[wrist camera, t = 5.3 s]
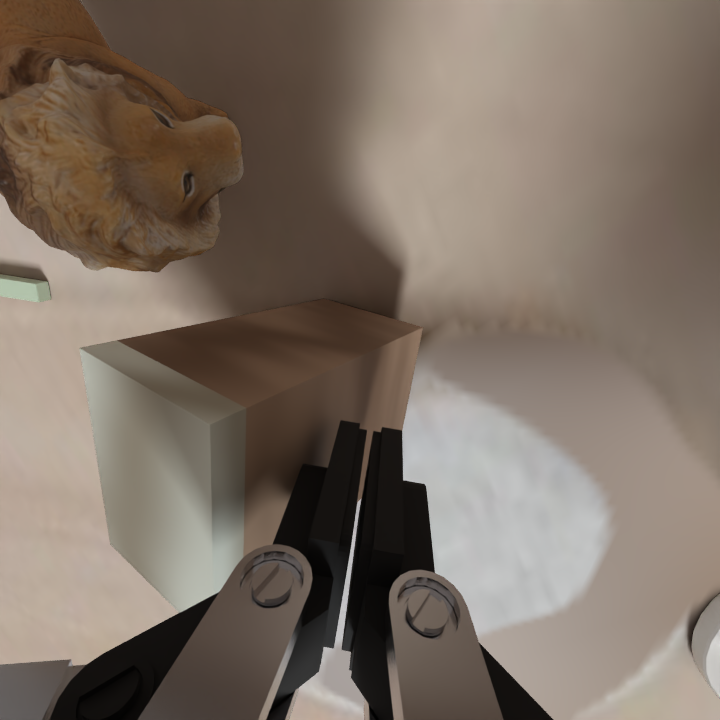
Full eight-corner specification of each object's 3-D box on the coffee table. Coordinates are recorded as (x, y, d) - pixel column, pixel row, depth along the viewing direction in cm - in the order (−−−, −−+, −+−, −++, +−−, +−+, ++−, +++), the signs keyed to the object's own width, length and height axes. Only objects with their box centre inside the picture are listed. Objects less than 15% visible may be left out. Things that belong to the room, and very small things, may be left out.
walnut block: (422, 327, 14) (210, 424, 7) (395, 463, 16) (214, 647, 9) (324, 298, 16) (79, 348, 9) (312, 422, 18) (110, 544, 11)
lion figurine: (328, 190, 14) (227, 162, 6) (233, 278, 16) (49, 352, 8) (0, -240, 11) (-1235, -1621, 3) (-78, -73, 13) (-1003, -620, 4)
